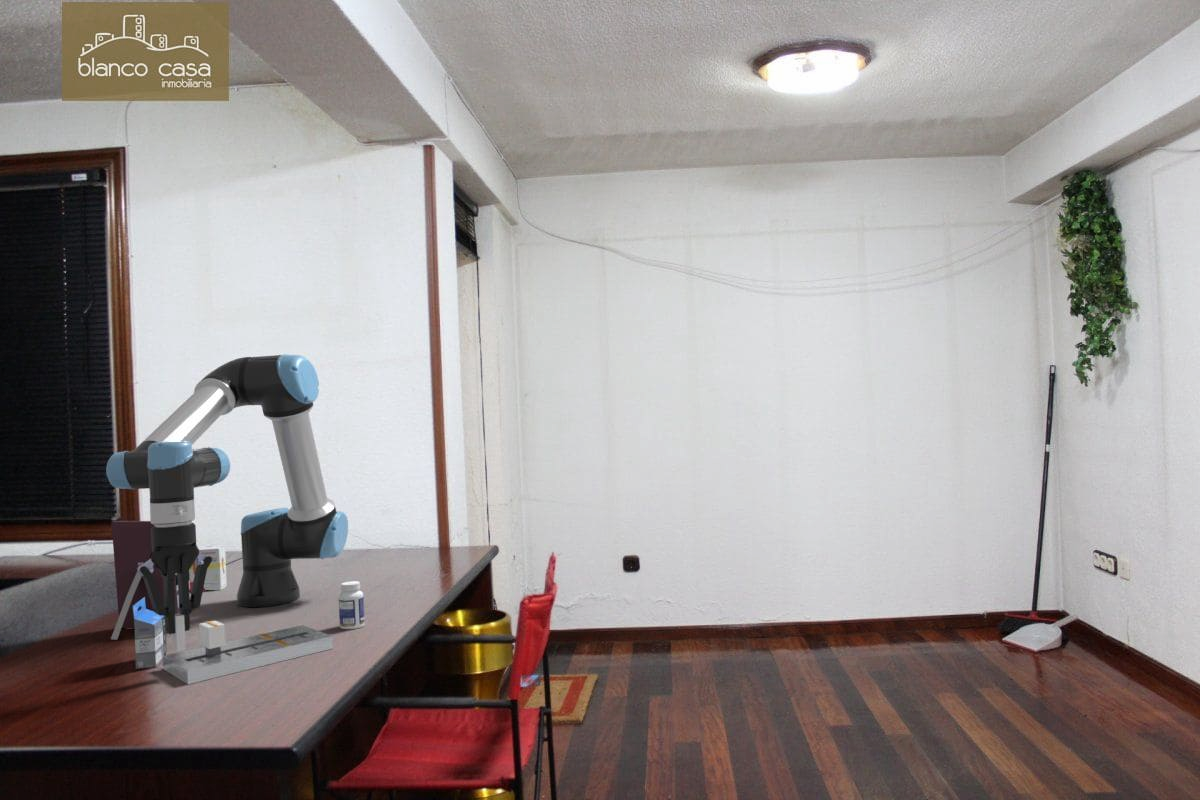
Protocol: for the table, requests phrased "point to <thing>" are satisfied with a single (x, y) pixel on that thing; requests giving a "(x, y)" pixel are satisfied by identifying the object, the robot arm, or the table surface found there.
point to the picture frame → (133, 570)
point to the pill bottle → (351, 606)
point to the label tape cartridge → (148, 636)
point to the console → (247, 653)
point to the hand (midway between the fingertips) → (179, 649)
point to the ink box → (212, 568)
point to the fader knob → (212, 637)
